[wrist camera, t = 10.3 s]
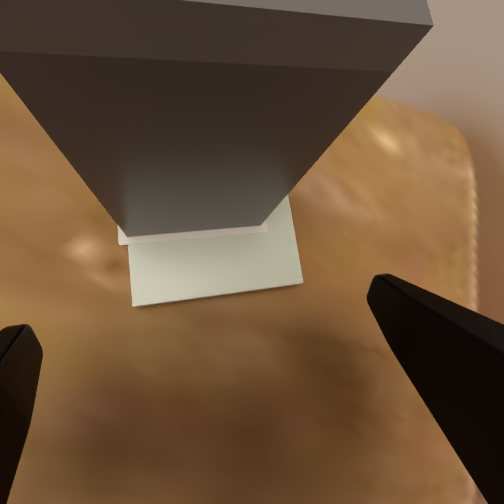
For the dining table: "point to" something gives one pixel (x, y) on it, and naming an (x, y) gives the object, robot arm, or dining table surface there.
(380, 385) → the dining table surface
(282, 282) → the board
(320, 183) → the dining table surface
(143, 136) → the block
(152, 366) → the dining table surface
